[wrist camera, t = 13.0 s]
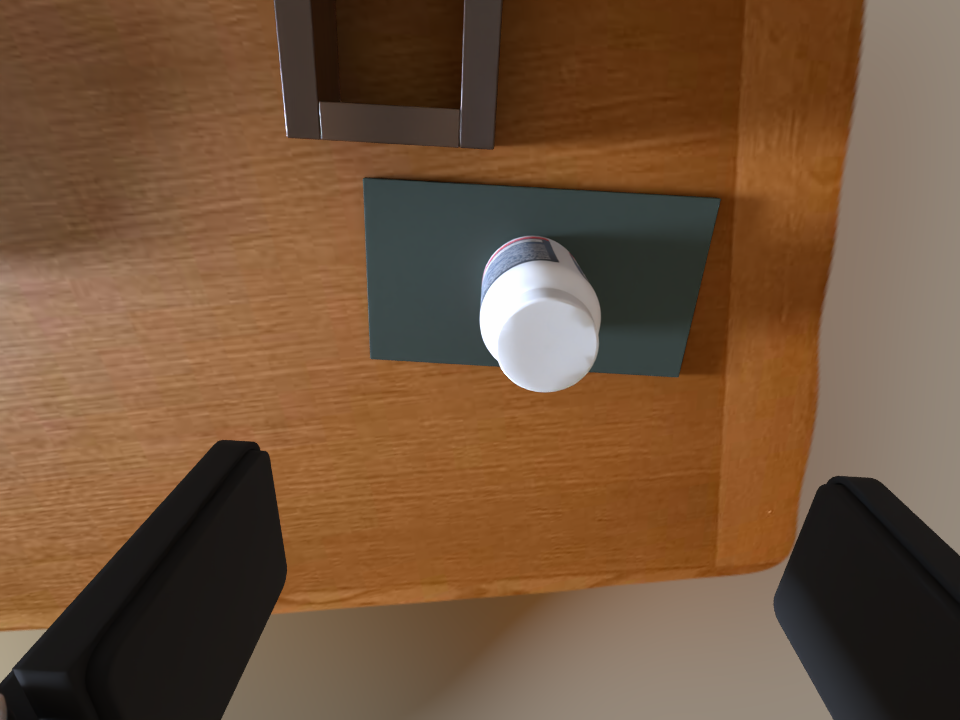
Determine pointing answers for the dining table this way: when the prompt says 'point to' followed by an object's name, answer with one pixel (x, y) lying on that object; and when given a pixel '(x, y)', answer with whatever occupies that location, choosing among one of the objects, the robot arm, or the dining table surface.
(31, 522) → the dining table surface
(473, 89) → the holder
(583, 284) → the pill bottle
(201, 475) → the robot arm
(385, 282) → the mat
